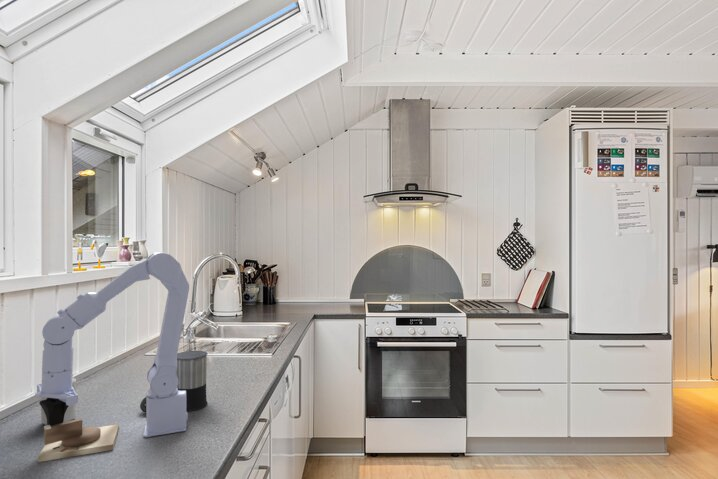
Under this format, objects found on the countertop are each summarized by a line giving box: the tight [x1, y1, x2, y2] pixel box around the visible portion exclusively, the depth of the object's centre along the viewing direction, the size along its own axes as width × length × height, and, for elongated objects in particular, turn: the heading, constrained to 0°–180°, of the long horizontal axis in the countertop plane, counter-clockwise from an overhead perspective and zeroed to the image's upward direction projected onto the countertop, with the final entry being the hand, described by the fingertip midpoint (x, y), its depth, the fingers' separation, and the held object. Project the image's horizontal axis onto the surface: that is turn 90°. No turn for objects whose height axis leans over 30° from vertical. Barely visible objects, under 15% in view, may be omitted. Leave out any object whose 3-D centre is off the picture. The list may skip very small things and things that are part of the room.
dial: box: [43, 418, 101, 447], centre depth 99 cm, size 11×8×5 cm
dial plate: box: [37, 423, 120, 463], centre depth 101 cm, size 14×12×1 cm
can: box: [40, 374, 77, 426], centre depth 114 cm, size 8×8×12 cm
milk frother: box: [139, 350, 208, 414], centre depth 123 cm, size 14×16×15 cm
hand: (55, 430), depth 98 cm, fingers closed, pressing on dial
